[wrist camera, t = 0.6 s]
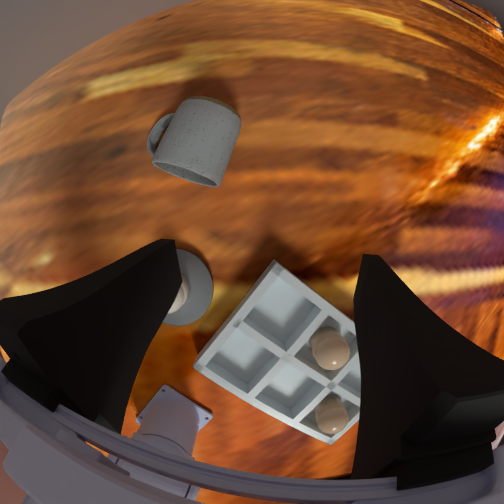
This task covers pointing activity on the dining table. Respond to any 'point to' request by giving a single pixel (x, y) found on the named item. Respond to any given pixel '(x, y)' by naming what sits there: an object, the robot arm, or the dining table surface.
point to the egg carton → (283, 353)
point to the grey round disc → (192, 289)
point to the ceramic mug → (196, 140)
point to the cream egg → (181, 295)
